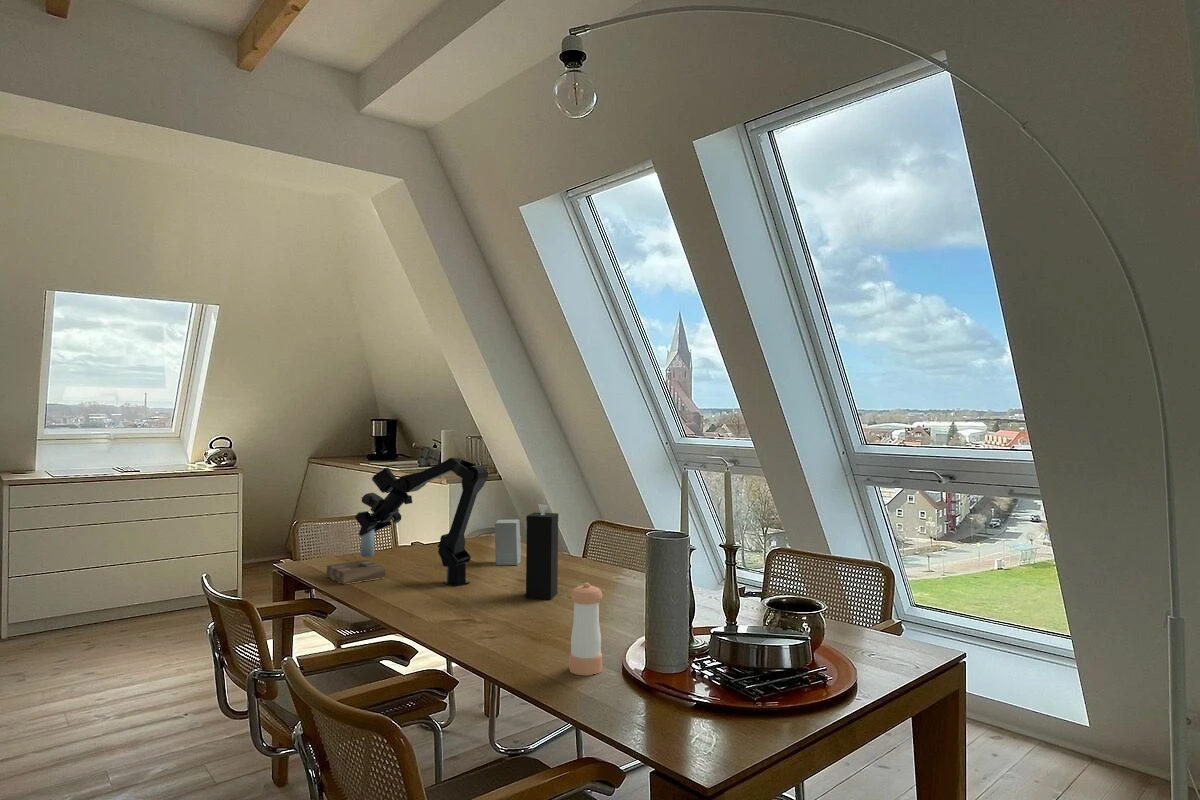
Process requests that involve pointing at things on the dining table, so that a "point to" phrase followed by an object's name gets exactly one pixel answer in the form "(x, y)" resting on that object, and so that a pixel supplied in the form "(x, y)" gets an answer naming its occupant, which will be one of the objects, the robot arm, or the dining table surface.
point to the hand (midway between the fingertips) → (364, 534)
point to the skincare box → (507, 542)
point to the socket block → (355, 571)
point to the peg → (367, 544)
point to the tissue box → (542, 554)
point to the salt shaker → (586, 631)
